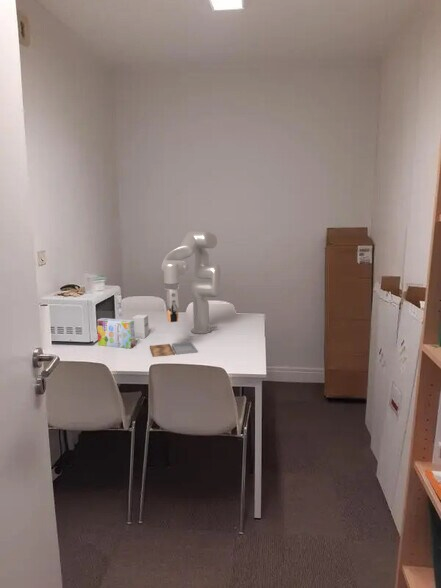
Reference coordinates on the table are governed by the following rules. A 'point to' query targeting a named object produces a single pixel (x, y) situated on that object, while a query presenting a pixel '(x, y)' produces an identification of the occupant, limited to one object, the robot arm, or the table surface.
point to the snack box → (116, 332)
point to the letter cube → (169, 316)
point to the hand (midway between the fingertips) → (172, 319)
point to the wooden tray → (161, 350)
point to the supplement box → (141, 326)
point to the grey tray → (184, 348)
